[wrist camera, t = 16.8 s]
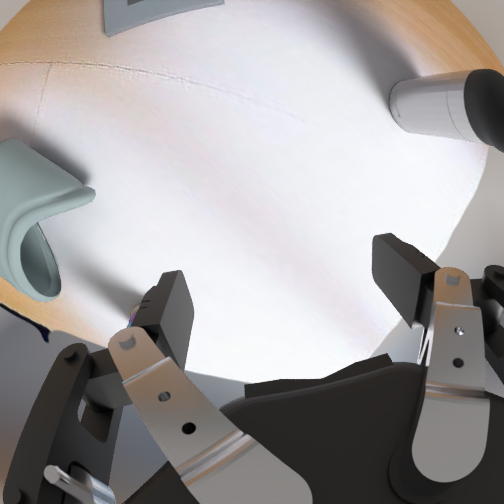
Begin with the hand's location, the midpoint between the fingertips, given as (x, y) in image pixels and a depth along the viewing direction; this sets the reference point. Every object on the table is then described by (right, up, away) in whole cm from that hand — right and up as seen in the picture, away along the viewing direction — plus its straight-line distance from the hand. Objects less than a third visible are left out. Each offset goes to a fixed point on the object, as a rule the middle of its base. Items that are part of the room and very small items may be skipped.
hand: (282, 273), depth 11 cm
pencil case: (-37, +8, +28) cm, 47 cm away
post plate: (-16, +43, +13) cm, 48 cm away
